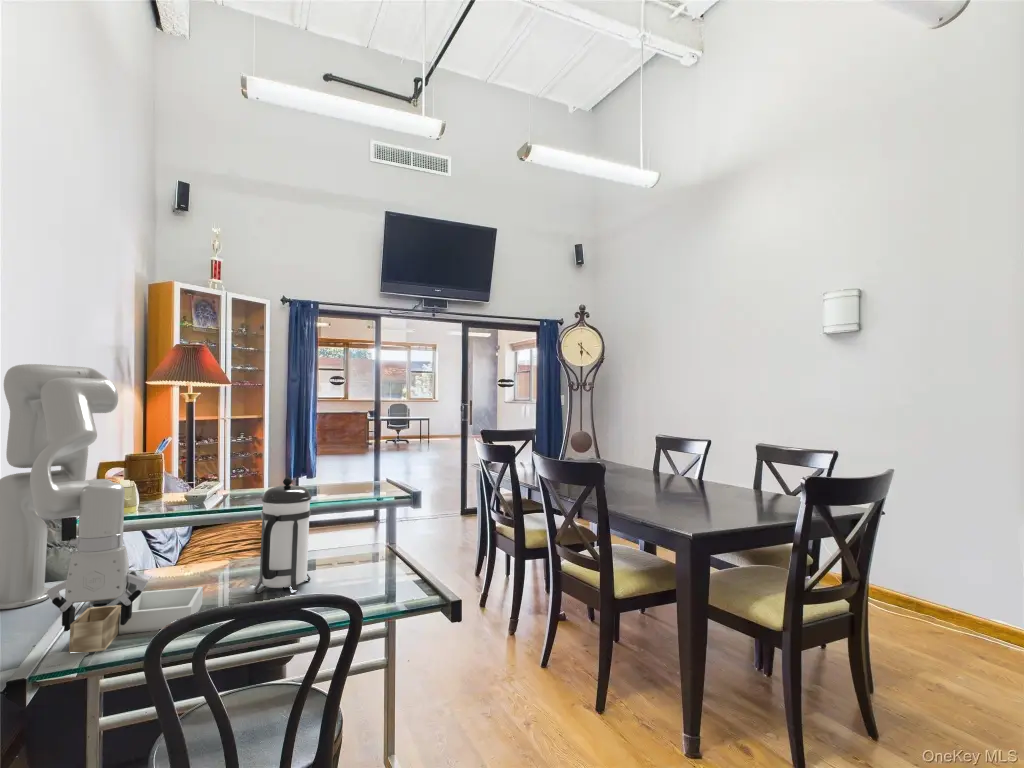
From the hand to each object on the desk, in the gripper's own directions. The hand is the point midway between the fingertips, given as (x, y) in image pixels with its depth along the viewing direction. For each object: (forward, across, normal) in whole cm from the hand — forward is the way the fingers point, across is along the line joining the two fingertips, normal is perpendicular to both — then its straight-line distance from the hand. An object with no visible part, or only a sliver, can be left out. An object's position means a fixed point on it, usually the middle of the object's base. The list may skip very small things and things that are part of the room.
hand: (97, 625), depth 113 cm
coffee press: (+4, +35, +24) cm, 43 cm away
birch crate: (+4, 0, 0) cm, 4 cm away
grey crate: (+4, +10, +10) cm, 15 cm away
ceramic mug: (+4, -4, +24) cm, 24 cm away
